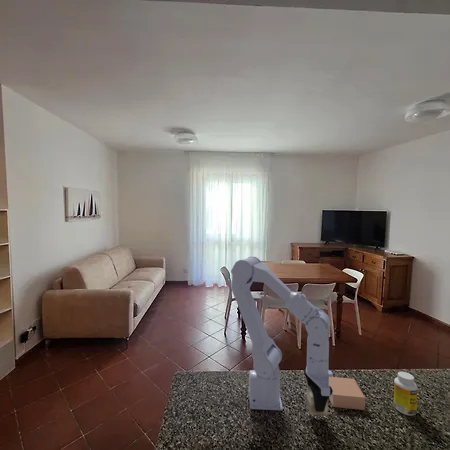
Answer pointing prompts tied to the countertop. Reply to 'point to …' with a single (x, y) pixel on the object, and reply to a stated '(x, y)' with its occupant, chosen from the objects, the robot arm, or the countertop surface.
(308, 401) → the metal block
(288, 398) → the countertop surface
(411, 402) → the supplement bottle
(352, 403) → the terracotta box
